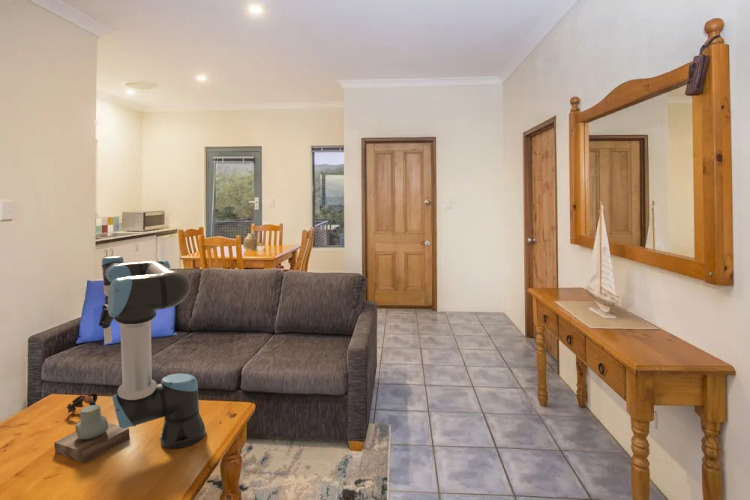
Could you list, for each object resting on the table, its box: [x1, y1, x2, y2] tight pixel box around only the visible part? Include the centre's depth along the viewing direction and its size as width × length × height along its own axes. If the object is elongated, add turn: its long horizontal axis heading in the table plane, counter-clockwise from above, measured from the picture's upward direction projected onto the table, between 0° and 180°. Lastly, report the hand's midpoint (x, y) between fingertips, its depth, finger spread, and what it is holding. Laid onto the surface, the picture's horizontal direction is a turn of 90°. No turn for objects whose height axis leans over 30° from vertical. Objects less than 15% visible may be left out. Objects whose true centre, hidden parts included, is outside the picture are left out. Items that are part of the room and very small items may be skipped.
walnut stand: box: [53, 422, 131, 464], centre depth 147 cm, size 16×16×4 cm
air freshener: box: [75, 404, 109, 439], centre depth 146 cm, size 11×8×10 cm
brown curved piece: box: [66, 392, 98, 414], centre depth 173 cm, size 12×10×8 cm
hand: (119, 344), depth 170 cm, fingers open, 13 cm apart
